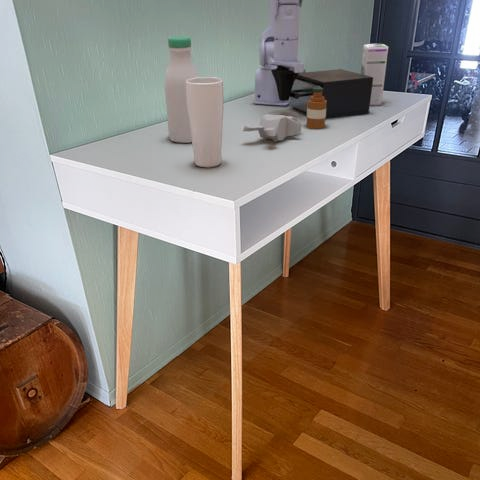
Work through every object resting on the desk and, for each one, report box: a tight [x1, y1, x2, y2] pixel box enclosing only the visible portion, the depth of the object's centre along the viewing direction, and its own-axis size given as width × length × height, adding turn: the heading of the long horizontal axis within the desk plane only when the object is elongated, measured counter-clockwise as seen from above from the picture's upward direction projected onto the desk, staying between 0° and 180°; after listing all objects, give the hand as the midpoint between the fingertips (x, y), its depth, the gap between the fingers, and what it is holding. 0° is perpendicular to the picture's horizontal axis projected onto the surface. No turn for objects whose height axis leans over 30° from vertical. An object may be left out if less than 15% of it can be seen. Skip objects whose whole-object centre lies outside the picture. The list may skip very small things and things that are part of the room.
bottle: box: [305, 87, 327, 130], centre depth 118 cm, size 4×4×8 cm
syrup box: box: [360, 43, 389, 106], centre depth 136 cm, size 6×6×14 cm
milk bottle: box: [164, 36, 200, 144], centre depth 107 cm, size 8×8×20 cm
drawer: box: [288, 78, 322, 113], centre depth 130 cm, size 17×13×7 cm
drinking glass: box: [186, 76, 225, 168], centre depth 94 cm, size 7×7×15 cm
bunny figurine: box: [242, 113, 303, 143], centre depth 111 cm, size 10×5×15 cm
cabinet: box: [292, 68, 373, 120], centre depth 131 cm, size 15×15×9 cm
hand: (284, 100), depth 127 cm, fingers closed, pressing on drawer
